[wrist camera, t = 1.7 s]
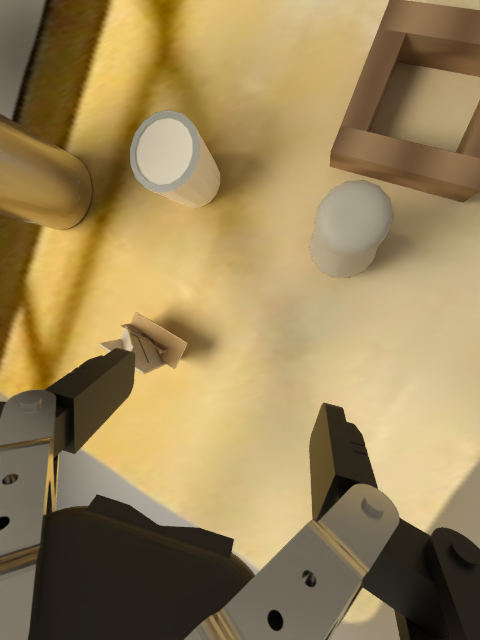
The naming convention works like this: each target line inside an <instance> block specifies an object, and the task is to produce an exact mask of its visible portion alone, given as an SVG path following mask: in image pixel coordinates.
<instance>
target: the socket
mask: <svg viewBox="0 0 480 640" xmlns="http://www.w3.org/2000/svg"><path fill="white" fill-rule="evenodd" d="M397 62H403V63H408V64H414V65H419V66H425V67H430V68H436V69H441V70H447V71H452V72H458V73H463V74H469V75H474V76H480V10H472V9H465V8H457V7H450V6H443V5H435V4H428V3H420V2H413V1H406V0H389V3H388V6H387V8H386V11H385V13H384V16H383V18H382V21H381V24H380V26H379V29H378V31H377V34H376V36H375V39H374V42H373V44H372V47H371V49H370V52H369V54H368V57H367V60H366V62H365V65H364V67H363V70H362V72H361V75H360V78H359V80H358V83H357V85H356V88H355V90H354V93H353V96H352V98H351V101H350V103H349V106H348V109H347V111H346V114H345V116H344V119H343V121H342V124H341V127H340V129H339V132H338V134H337V137H336V139H335V142H334V145H333V147H332V150H331V156H330V166H331V167H334V168H338V169H342V170H345V171H349V172H353V173H357V174H360V175H364V176H368V177H371V178H375V179H379V180H382V181H386V182H390V183H393V184H397V185H401V186H405V187H408V188H412V189H416V190H419V191H423V192H427V193H430V194H434V195H438V196H441V197H445V198H449V199H453V200H456V201H460V202H464V201H466V200H467V199H468V198H470V197H471V196H473V195H474V194H476V193H477V192H479V191H480V101H479V103H478V106H477V108H476V110H475V112H474V114H473V117H472V119H471V121H470V123H469V125H468V127H467V130H466V132H465V134H464V136H463V138H462V141H461V143H460V145H459V147H458V149H457V151H456V153H455V152H451V151H447V150H442V149H438V148H434V147H430V146H426V145H421V144H417V143H413V142H409V141H405V140H400V139H396V138H392V137H388V136H383V135H379V134H375V133H371V132H369V130H370V128H371V125H372V123H373V120H374V118H375V115H376V113H377V111H378V108H379V106H380V103H381V101H382V98H383V96H384V93H385V91H386V88H387V86H388V83H389V81H390V78H391V76H392V73H393V71H394V69H395V66H396V64H397Z"/></svg>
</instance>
